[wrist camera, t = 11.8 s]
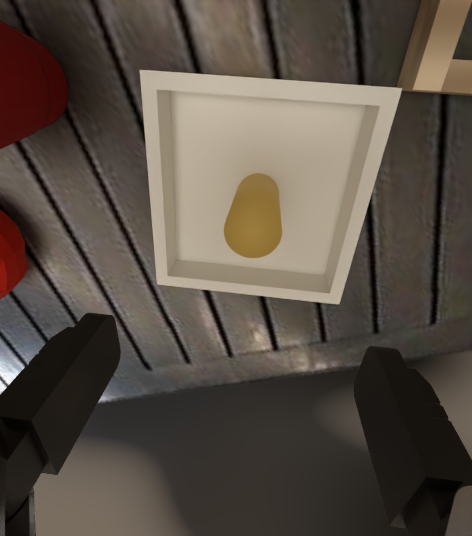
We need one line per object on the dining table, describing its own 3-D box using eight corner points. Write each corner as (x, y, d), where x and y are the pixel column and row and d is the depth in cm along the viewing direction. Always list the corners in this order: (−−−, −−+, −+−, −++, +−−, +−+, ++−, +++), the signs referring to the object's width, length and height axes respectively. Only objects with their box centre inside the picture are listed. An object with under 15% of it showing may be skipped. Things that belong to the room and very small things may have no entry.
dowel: (238, 171, 24) (224, 201, 17) (281, 175, 24) (286, 206, 17) (235, 213, 26) (222, 255, 19) (276, 216, 26) (278, 260, 19)
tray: (159, 73, 22) (139, 69, 19) (381, 89, 21) (402, 88, 18) (170, 262, 30) (157, 284, 27) (331, 279, 29) (339, 304, 26)
